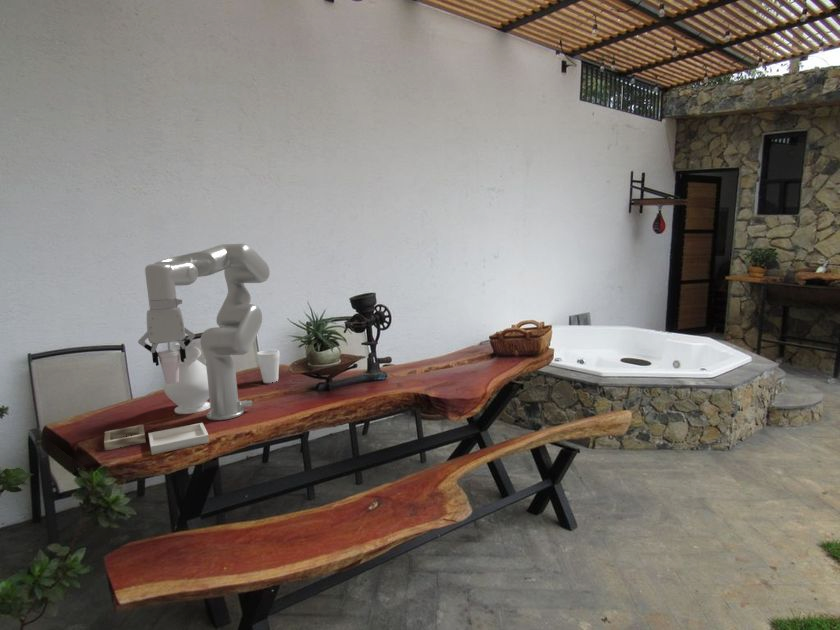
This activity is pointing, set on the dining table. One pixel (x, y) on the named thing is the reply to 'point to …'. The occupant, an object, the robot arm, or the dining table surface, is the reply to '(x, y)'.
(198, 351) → the decorative vase
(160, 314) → the robot arm
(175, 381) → the smoothie
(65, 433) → the dining table surface
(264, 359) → the foam cup
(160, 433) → the tray
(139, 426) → the frame
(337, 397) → the dining table surface
